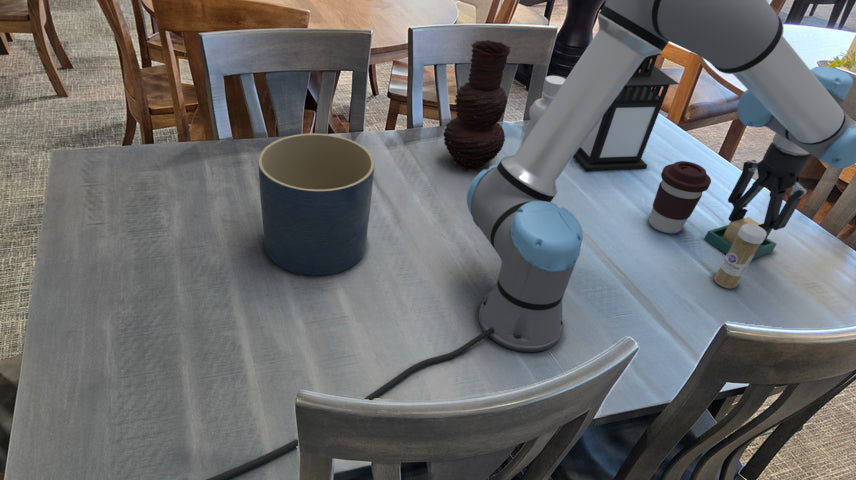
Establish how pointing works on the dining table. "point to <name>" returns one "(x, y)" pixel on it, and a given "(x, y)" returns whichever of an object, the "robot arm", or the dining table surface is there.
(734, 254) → the sprinkles bottle
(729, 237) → the tan block
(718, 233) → the green tray
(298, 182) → the planter
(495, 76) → the vase
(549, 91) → the bottle
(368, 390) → the dining table surface
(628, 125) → the lantern
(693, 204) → the coffee cup
